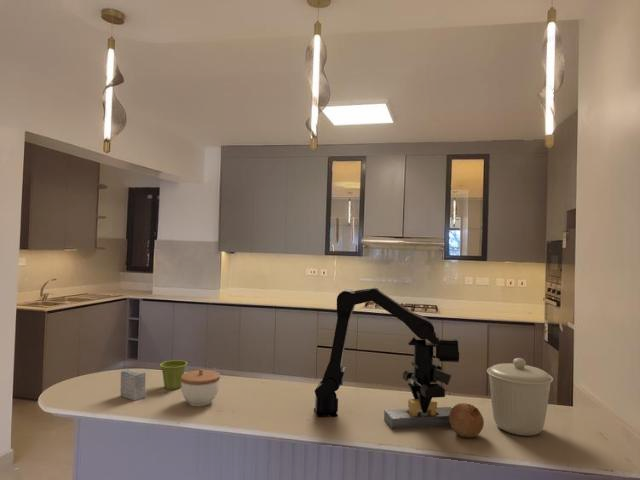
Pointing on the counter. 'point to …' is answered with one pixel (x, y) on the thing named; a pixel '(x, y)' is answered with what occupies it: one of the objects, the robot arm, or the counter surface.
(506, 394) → the canister
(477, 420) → the onion
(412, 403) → the yellow rectangular block
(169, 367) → the plant pot
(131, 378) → the medicine box
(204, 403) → the lidded bowl
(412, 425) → the rail
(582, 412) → the counter surface
